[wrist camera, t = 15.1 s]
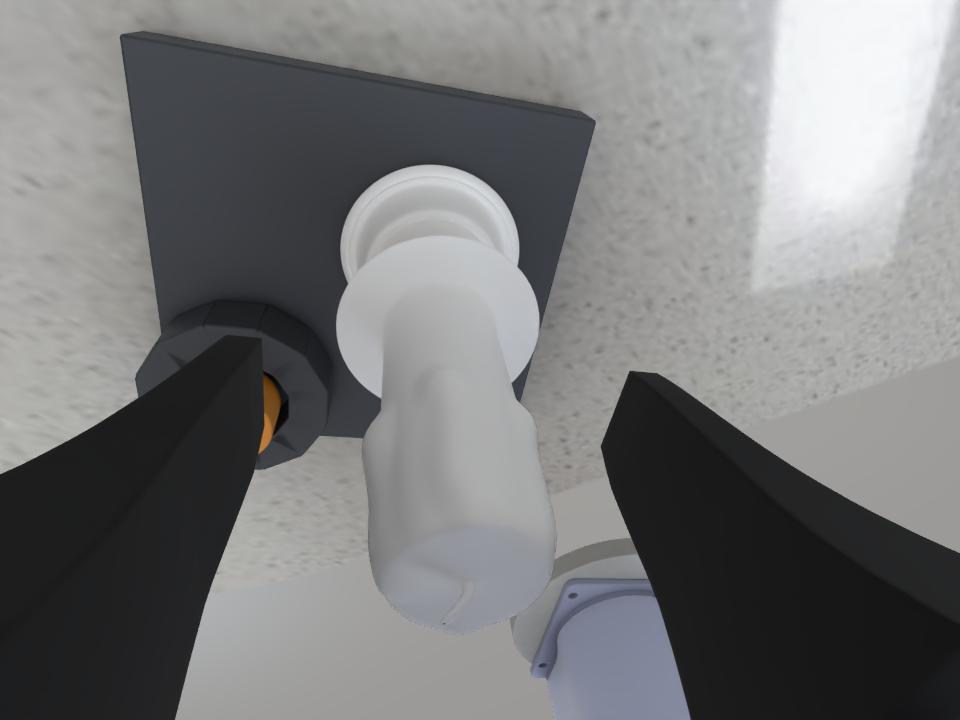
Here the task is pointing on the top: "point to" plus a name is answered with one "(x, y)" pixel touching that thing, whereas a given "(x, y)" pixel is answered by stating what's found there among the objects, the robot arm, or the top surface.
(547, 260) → the scale
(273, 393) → the power button
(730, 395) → the top surface
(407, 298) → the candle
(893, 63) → the top surface
